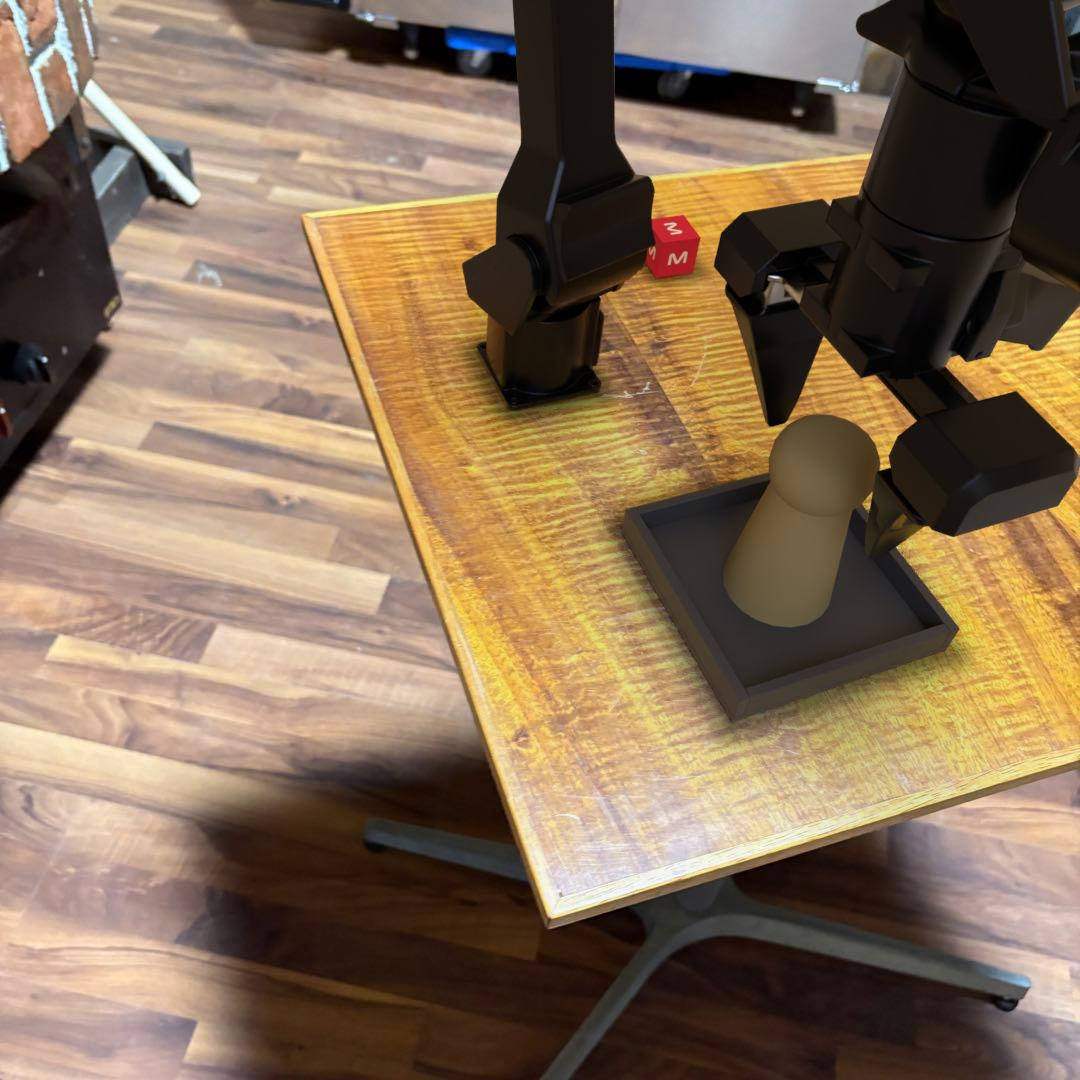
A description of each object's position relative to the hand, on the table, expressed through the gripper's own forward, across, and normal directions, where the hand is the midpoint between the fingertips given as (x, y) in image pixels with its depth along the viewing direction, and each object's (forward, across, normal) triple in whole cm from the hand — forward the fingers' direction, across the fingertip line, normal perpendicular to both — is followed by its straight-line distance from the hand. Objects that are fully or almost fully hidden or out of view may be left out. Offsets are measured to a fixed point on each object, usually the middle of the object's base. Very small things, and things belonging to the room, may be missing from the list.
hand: (823, 485), depth 50 cm
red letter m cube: (+9, +30, -8) cm, 32 cm away
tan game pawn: (+8, 0, 0) cm, 8 cm away
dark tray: (+9, 0, 0) cm, 9 cm away
